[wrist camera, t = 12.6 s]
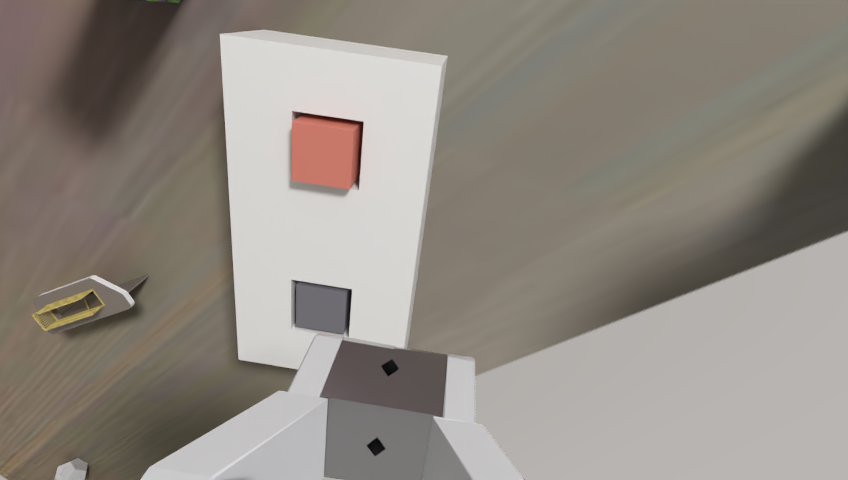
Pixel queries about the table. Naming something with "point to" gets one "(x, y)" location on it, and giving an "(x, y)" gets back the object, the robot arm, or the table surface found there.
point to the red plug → (326, 150)
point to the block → (324, 205)
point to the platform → (83, 302)
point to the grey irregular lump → (72, 470)
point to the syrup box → (163, 0)
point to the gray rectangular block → (322, 307)
